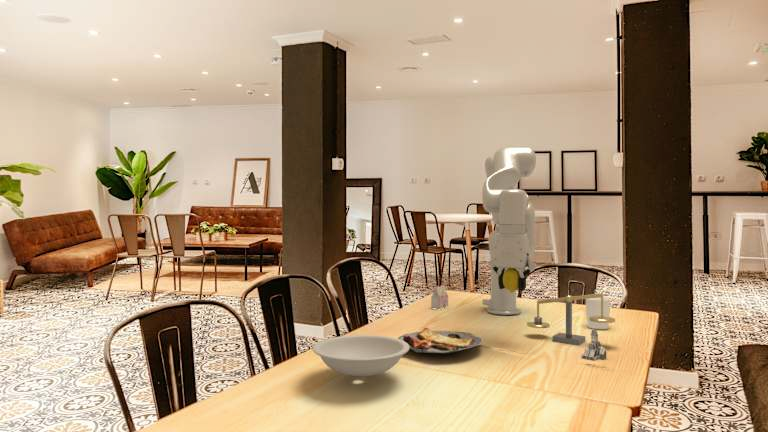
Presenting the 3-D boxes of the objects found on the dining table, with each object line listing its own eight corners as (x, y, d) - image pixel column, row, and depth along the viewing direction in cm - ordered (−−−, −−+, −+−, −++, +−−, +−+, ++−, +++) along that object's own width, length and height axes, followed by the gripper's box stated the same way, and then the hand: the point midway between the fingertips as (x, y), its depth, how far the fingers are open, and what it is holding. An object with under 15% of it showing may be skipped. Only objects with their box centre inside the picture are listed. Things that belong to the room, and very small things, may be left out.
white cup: (605, 325, 184) (606, 296, 184) (613, 330, 176) (613, 300, 176) (582, 324, 185) (582, 296, 185) (589, 329, 177) (589, 300, 177)
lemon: (522, 291, 163) (521, 265, 162) (520, 294, 157) (520, 268, 157) (503, 290, 164) (503, 265, 164) (501, 294, 159) (501, 267, 159)
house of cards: (609, 367, 136) (609, 337, 136) (577, 360, 142) (577, 331, 142) (624, 360, 142) (624, 332, 142) (593, 354, 149) (593, 326, 148)
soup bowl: (375, 395, 115) (375, 365, 115) (292, 377, 128) (292, 350, 128) (426, 367, 136) (426, 341, 135) (350, 354, 148) (350, 330, 148)
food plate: (381, 347, 157) (381, 335, 157) (429, 333, 174) (429, 323, 174) (449, 363, 140) (449, 350, 140) (496, 346, 157) (496, 334, 157)
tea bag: (431, 312, 208) (431, 287, 208) (440, 309, 214) (440, 285, 214) (439, 313, 206) (439, 288, 206) (448, 310, 212) (448, 285, 211)
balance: (523, 336, 167) (523, 287, 167) (532, 332, 173) (532, 285, 173) (611, 350, 151) (611, 296, 151) (618, 345, 156) (618, 293, 156)
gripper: (480, 230, 163) (480, 288, 163) (534, 231, 152) (534, 294, 153) (492, 228, 169) (492, 285, 169) (544, 230, 158) (544, 290, 158)
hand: (512, 288), depth 161 cm, fingers closed on lemon, 5 cm apart
